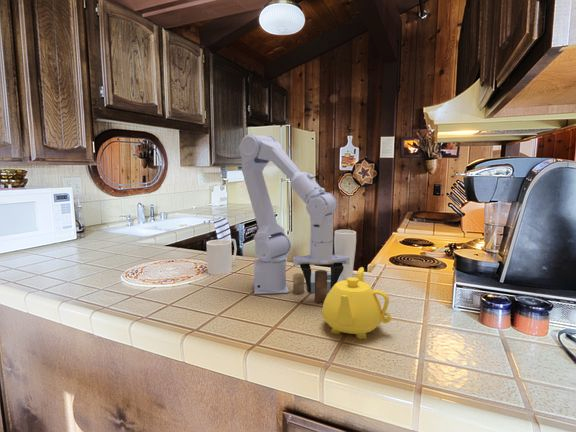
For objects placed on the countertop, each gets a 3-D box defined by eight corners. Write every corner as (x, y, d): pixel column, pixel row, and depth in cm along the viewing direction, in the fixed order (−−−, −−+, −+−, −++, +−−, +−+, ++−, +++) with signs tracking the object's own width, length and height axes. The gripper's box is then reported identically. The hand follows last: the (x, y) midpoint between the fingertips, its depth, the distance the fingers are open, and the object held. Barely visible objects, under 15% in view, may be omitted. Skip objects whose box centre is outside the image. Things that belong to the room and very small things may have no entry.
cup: (244, 267, 120) (244, 239, 118) (218, 276, 110) (217, 246, 109) (228, 263, 125) (228, 236, 123) (202, 271, 115) (201, 242, 114)
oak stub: (293, 294, 95) (293, 277, 95) (292, 290, 98) (292, 273, 98) (305, 294, 96) (305, 276, 95) (303, 289, 99) (303, 273, 98)
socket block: (309, 292, 96) (309, 282, 96) (305, 283, 104) (305, 273, 104) (344, 291, 97) (344, 281, 97) (337, 282, 105) (338, 272, 105)
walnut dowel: (315, 303, 89) (316, 274, 88) (313, 299, 92) (314, 270, 91) (327, 303, 89) (328, 273, 88) (325, 298, 92) (325, 269, 91)
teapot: (384, 360, 63) (387, 301, 62) (308, 344, 69) (309, 289, 67) (394, 316, 82) (397, 269, 80) (334, 306, 87) (335, 262, 86)
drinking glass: (354, 281, 105) (356, 234, 103) (332, 280, 107) (333, 233, 104) (355, 274, 112) (356, 229, 110) (334, 273, 113) (335, 229, 111)
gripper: (295, 244, 83) (295, 297, 86) (353, 243, 85) (351, 295, 87) (292, 238, 90) (292, 287, 92) (346, 237, 92) (344, 285, 94)
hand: (320, 290), depth 90 cm, fingers open, 6 cm apart
